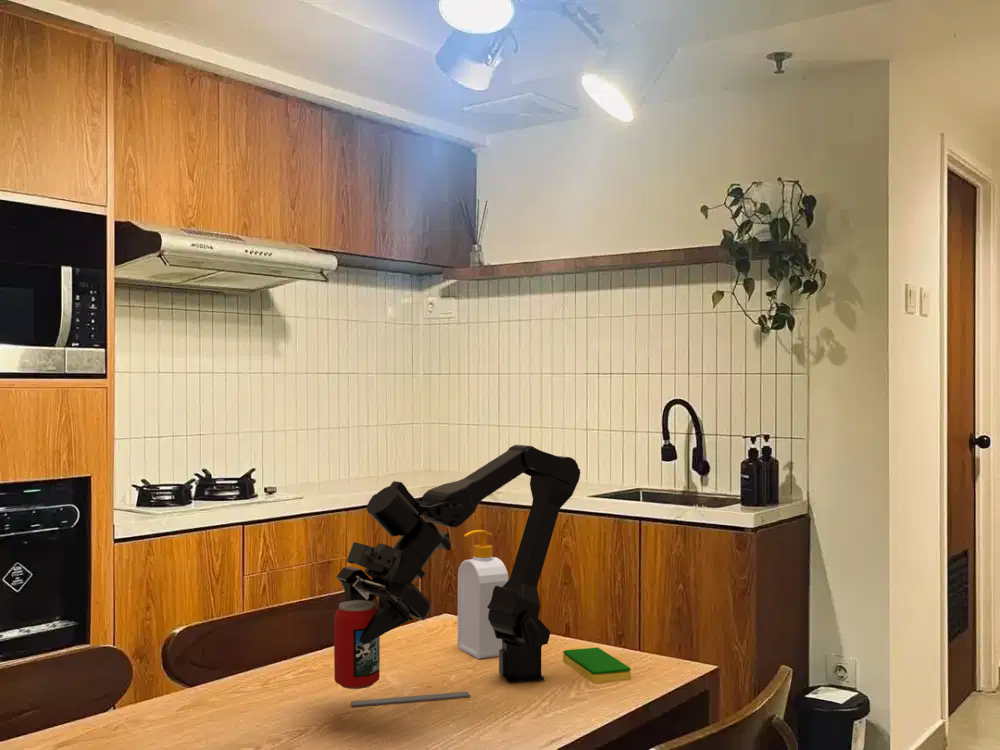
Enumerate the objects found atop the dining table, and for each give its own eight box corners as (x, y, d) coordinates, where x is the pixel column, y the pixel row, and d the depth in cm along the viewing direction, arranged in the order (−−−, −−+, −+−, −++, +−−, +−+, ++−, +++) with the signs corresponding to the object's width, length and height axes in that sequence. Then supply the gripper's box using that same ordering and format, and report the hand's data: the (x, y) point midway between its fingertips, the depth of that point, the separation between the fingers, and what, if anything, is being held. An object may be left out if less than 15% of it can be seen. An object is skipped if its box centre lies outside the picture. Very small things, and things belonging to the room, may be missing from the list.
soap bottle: (453, 648, 184) (454, 528, 185) (485, 643, 188) (486, 526, 188) (475, 660, 177) (476, 535, 177) (508, 655, 180) (509, 532, 180)
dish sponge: (593, 685, 163) (593, 671, 163) (562, 663, 177) (562, 649, 177) (631, 682, 166) (631, 667, 166) (598, 659, 179) (598, 646, 179)
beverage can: (371, 692, 141) (370, 610, 141) (327, 689, 143) (327, 608, 143) (385, 678, 148) (385, 600, 148) (343, 675, 149) (343, 598, 149)
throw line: (467, 693, 158) (467, 691, 158) (470, 697, 156) (470, 695, 156) (350, 703, 153) (350, 701, 153) (352, 707, 151) (352, 705, 151)
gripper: (346, 515, 155) (284, 594, 148) (413, 529, 141) (348, 617, 134) (388, 558, 160) (330, 637, 153) (456, 576, 146) (396, 663, 139)
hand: (349, 637), depth 144 cm, fingers closed on beverage can, 7 cm apart
